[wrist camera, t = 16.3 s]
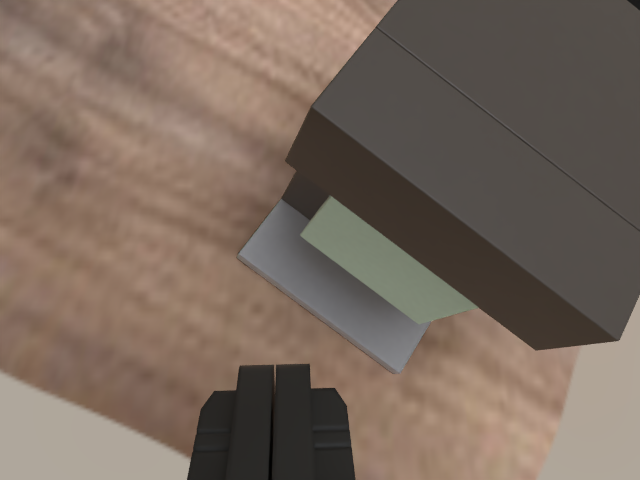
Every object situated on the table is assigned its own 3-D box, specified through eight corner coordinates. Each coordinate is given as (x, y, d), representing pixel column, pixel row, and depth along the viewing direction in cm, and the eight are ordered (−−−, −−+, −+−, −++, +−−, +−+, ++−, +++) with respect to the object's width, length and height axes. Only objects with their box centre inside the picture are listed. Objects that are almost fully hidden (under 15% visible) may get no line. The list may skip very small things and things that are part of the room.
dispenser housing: (393, 374, 32) (613, 356, 16) (234, 256, 31) (295, 115, 15) (485, 221, 36) (734, 84, 20) (344, 114, 35) (484, -114, 19)
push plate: (418, 325, 27) (491, 305, 20) (298, 235, 26) (336, 188, 20) (433, 299, 27) (509, 272, 21) (316, 211, 27) (358, 158, 21)
